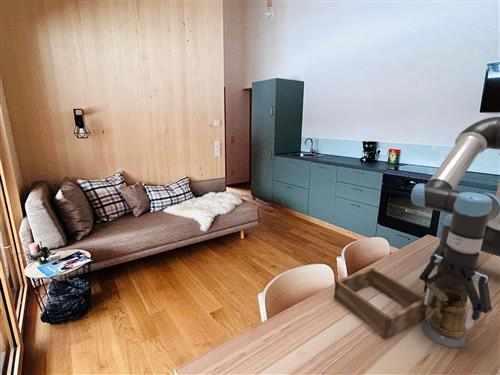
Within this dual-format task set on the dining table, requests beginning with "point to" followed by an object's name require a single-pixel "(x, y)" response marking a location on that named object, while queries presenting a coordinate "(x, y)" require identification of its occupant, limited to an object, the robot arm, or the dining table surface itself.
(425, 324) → the coaster
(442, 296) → the wooden mug
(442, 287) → the beer stein
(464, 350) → the dining table surface
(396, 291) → the wooden frame
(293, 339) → the dining table surface
